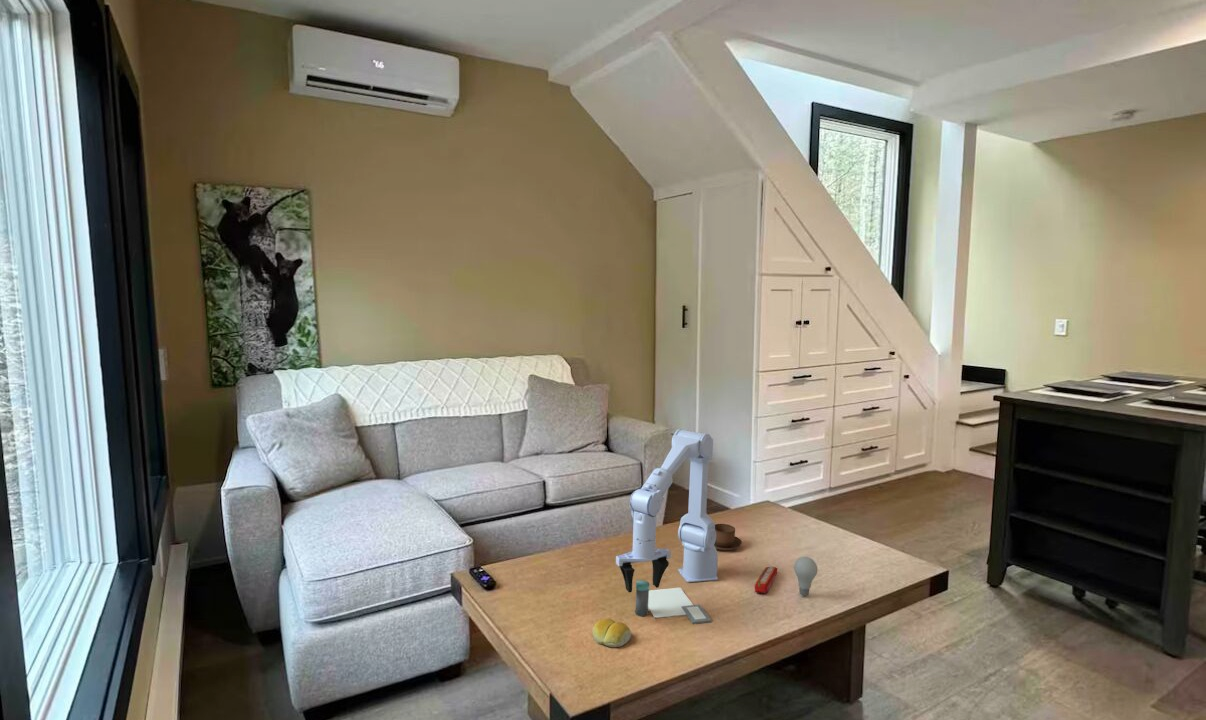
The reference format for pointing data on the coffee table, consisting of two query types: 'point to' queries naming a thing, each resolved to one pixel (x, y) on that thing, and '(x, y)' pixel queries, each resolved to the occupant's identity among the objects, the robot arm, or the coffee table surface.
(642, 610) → the grey teal-capped tube
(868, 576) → the coffee table surface
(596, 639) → the bread roll
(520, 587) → the coffee table surface
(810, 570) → the lightbulb
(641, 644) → the coffee table surface
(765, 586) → the candy bar
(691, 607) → the picture frame
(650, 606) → the paper
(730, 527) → the cup and saucer
